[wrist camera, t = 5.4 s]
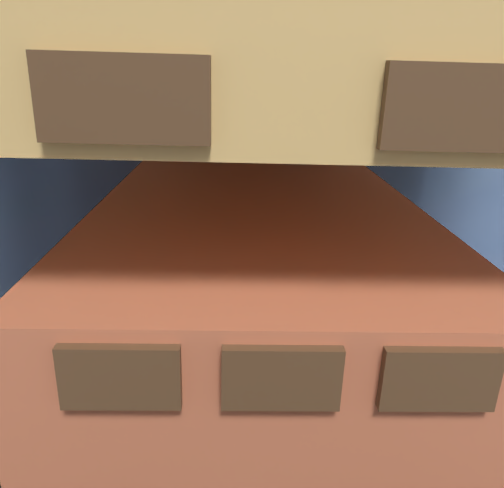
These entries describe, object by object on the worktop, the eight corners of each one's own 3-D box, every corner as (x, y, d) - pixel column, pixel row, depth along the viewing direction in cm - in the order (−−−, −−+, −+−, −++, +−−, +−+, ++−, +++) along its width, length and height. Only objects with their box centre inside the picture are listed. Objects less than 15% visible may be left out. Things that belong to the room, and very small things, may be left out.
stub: (160, 143, 16) (-38, 334, 4) (341, 147, 16) (592, 340, 5) (168, 353, 19) (58, 801, 7) (322, 354, 19) (452, 793, 7)
